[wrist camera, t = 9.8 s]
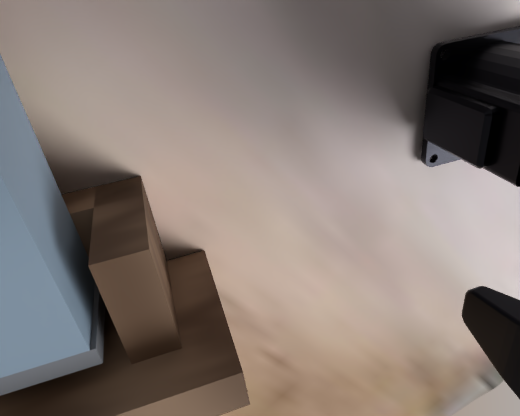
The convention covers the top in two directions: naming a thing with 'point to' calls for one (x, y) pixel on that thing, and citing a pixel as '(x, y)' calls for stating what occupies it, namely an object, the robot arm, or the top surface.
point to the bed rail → (40, 264)
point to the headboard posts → (142, 323)
